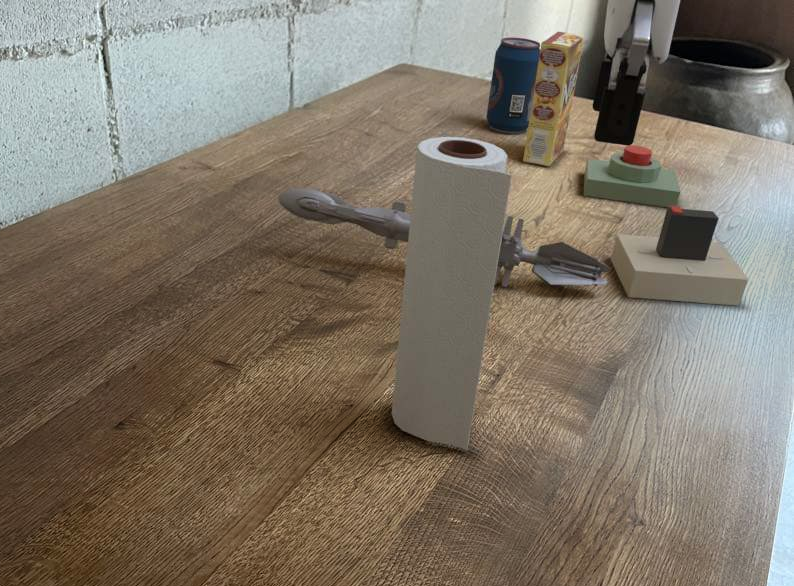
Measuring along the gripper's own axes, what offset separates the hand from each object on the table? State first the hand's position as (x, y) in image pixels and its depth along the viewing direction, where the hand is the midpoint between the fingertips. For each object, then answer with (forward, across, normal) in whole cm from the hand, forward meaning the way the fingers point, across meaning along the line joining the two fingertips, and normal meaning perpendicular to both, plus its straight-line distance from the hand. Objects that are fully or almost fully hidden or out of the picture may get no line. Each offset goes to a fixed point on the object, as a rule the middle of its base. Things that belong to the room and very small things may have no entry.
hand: (610, 126), depth 80 cm
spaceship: (+18, +7, +14) cm, 24 cm away
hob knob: (+15, +14, -11) cm, 23 cm away
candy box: (+18, +53, +4) cm, 56 cm away
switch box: (+18, +43, -8) cm, 47 cm away
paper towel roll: (+19, -23, +11) cm, 32 cm away
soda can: (+18, +65, +10) cm, 68 cm away
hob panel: (+18, +14, -12) cm, 25 cm away
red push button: (+15, +43, -8) cm, 46 cm away
